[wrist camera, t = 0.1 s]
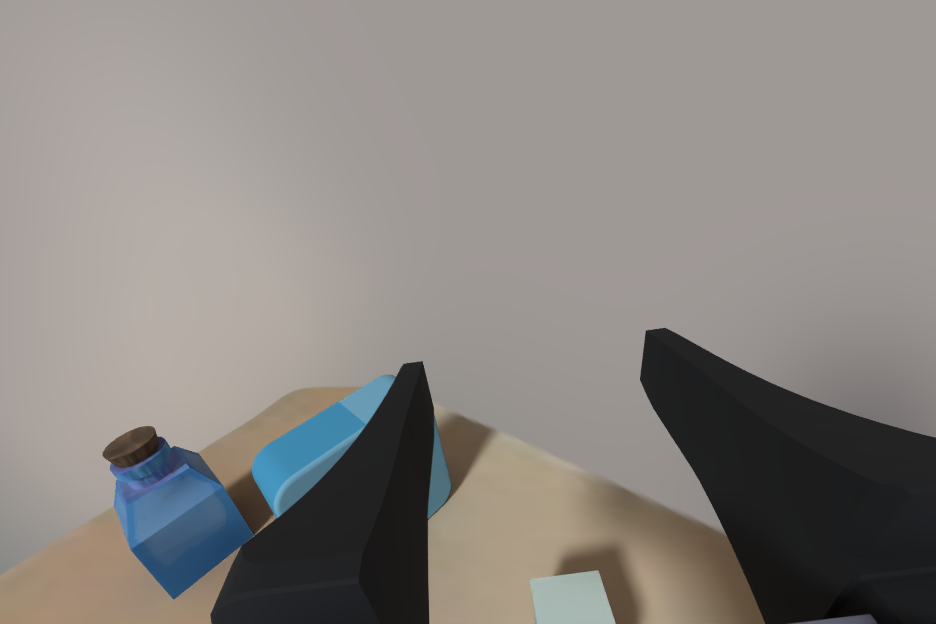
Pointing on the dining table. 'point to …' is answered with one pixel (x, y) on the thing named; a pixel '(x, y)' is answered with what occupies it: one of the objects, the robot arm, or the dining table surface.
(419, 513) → the robot arm
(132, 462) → the perfume bottle
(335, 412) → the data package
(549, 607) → the sage block
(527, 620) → the dining table surface
